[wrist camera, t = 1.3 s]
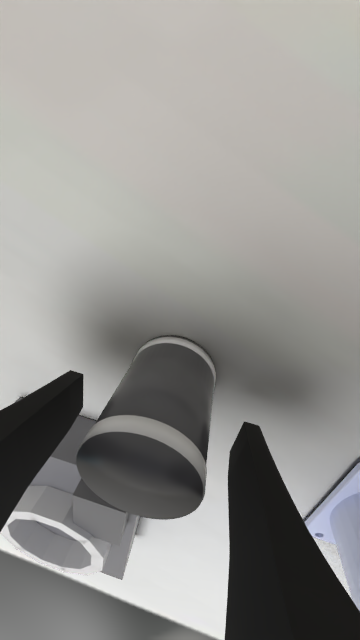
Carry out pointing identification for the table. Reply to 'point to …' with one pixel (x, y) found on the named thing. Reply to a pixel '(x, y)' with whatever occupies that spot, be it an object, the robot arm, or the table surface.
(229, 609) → the robot arm
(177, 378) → the lens
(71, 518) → the camera body
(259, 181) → the table surface
